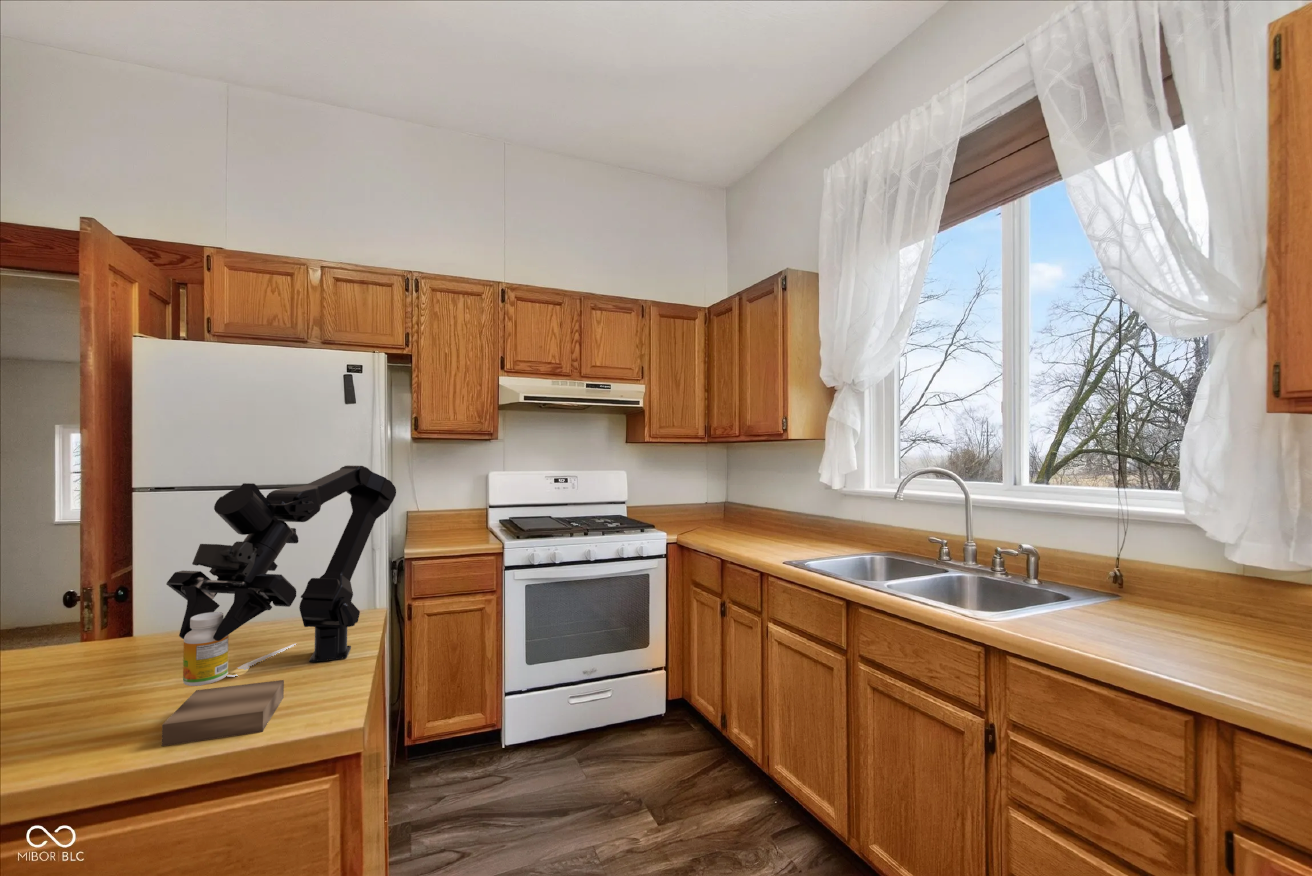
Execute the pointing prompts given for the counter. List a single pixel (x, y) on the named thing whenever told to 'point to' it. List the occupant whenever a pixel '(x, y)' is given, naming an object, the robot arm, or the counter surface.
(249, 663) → the fork
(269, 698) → the walnut base
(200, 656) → the supplement bottle
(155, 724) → the counter surface
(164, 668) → the counter surface
